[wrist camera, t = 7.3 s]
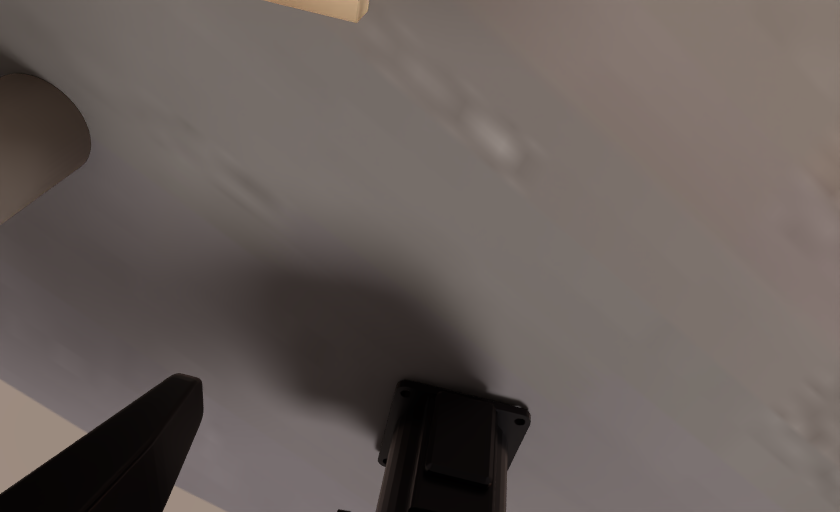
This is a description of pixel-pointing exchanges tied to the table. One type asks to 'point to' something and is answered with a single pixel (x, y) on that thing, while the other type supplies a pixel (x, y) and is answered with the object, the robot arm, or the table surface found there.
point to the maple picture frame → (331, 7)
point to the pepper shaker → (36, 140)
